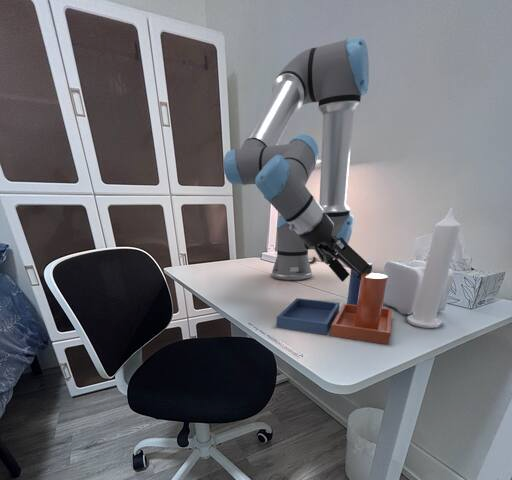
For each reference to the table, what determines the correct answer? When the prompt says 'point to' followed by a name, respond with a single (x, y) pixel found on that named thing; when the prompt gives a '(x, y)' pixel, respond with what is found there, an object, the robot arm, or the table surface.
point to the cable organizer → (409, 285)
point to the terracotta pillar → (370, 300)
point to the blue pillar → (354, 288)
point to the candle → (436, 272)
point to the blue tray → (308, 316)
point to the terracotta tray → (346, 329)
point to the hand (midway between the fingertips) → (359, 283)
